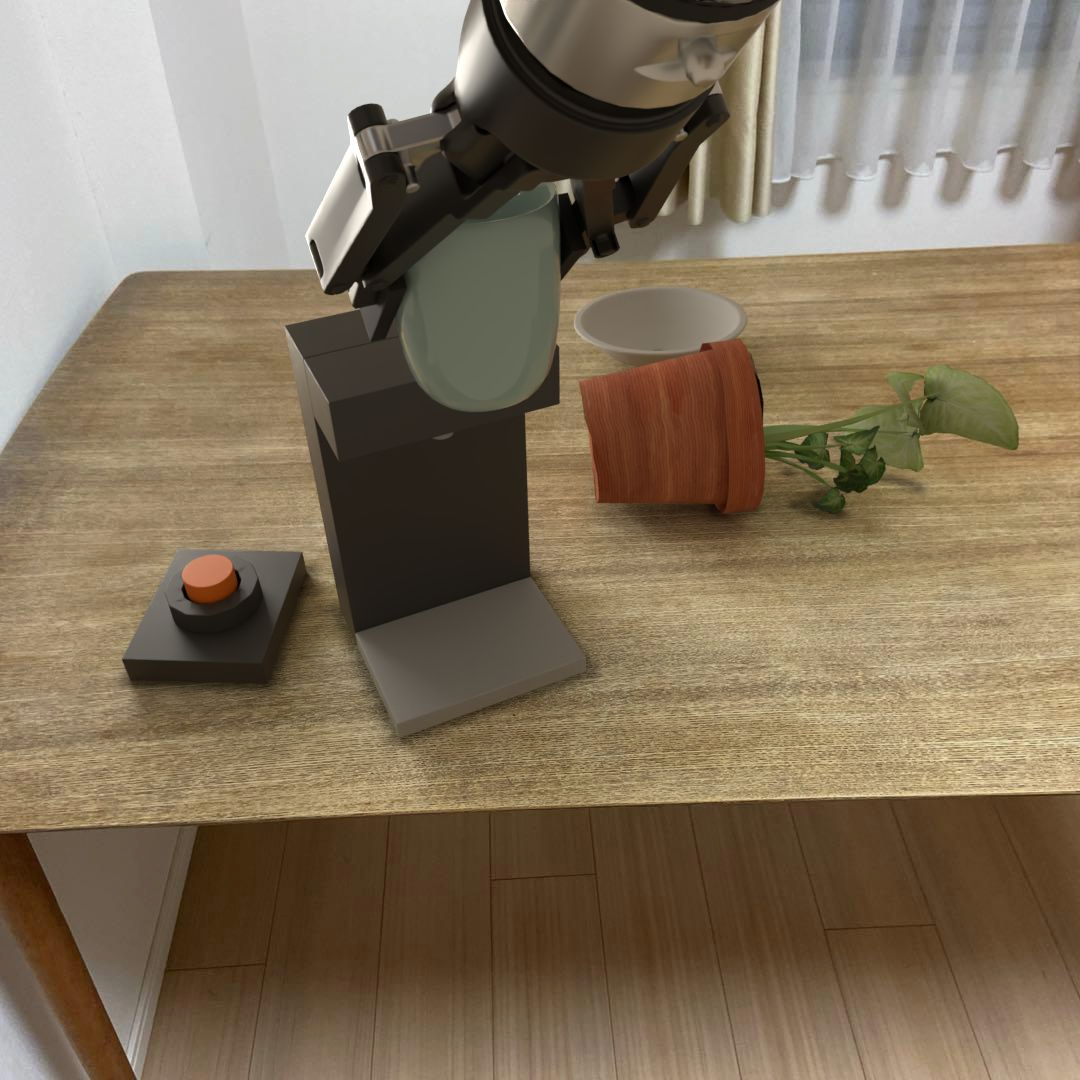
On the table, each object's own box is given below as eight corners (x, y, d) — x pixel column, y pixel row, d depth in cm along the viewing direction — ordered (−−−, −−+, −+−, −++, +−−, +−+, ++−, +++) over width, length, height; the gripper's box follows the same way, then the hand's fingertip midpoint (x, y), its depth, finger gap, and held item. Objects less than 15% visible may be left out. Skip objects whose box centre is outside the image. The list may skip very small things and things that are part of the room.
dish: (716, 320, 112) (720, 278, 109) (763, 386, 101) (769, 342, 98) (560, 338, 110) (560, 295, 107) (591, 408, 99) (592, 363, 96)
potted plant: (601, 577, 83) (1034, 527, 82) (586, 413, 74) (1073, 355, 73) (584, 473, 95) (960, 429, 94) (570, 322, 86) (985, 272, 85)
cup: (532, 340, 54) (526, 149, 48) (583, 415, 48) (585, 209, 42) (388, 367, 52) (362, 172, 46) (424, 447, 46) (400, 237, 40)
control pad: (129, 680, 72) (113, 641, 70) (184, 569, 82) (171, 531, 79) (267, 684, 72) (256, 645, 69) (307, 572, 81) (298, 533, 79)
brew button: (180, 604, 73) (174, 586, 72) (196, 571, 76) (190, 553, 75) (229, 605, 73) (224, 587, 72) (243, 572, 76) (239, 554, 75)
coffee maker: (586, 671, 72) (591, 377, 57) (399, 739, 68) (349, 440, 53) (508, 556, 82) (494, 279, 67) (340, 609, 78) (283, 325, 62)
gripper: (297, 185, 25) (268, 418, 47) (944, 69, 32) (657, 321, 53) (206, -91, 26) (219, 266, 47) (865, -150, 32) (611, 188, 54)
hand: (451, 295), depth 50 cm, fingers closed on cup, 8 cm apart
